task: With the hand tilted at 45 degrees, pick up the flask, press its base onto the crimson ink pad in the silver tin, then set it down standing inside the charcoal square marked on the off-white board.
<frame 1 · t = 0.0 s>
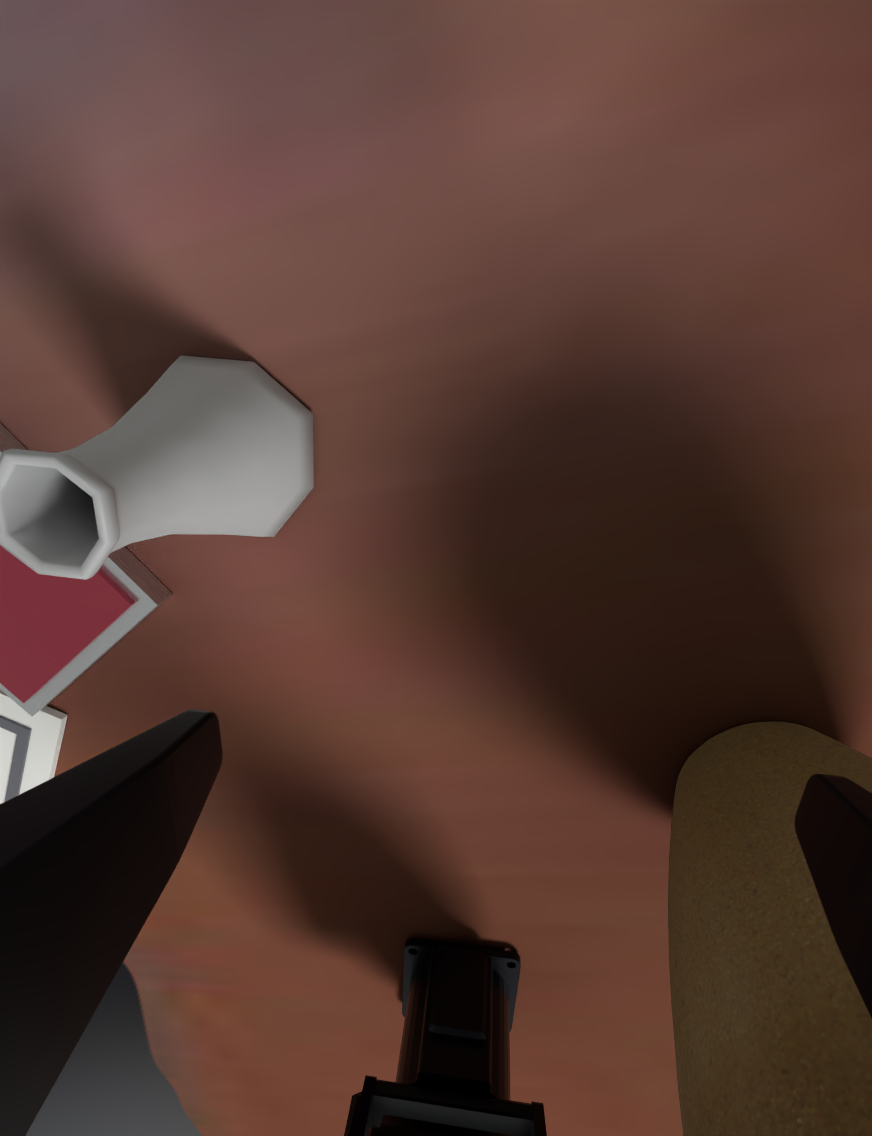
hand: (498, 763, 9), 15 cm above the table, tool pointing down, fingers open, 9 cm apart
flask: (235, 448, 23), on the table
plant pot: (759, 786, 26), on the table
ink pad: (25, 574, 26), on the table
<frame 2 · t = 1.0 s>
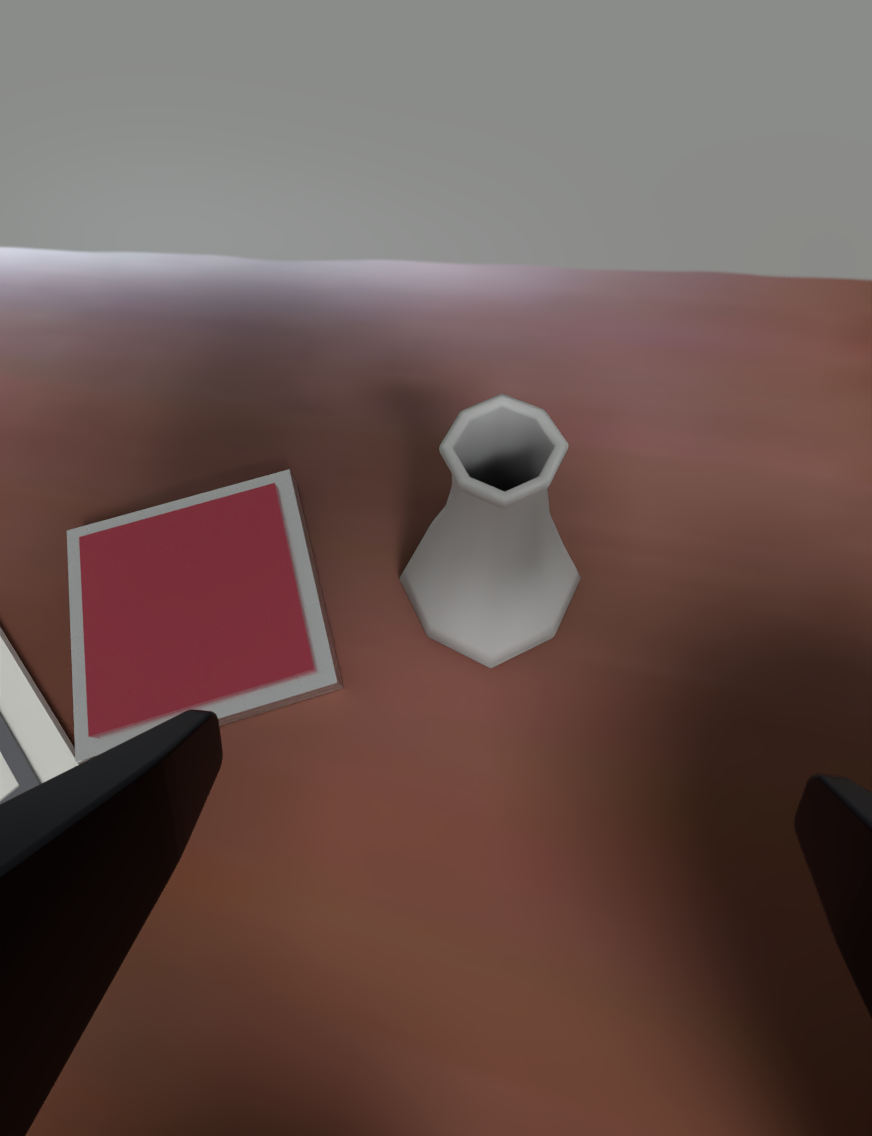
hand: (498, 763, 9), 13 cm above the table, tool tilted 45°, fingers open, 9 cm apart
flask: (488, 582, 24), on the table
ink pad: (205, 610, 24), on the table
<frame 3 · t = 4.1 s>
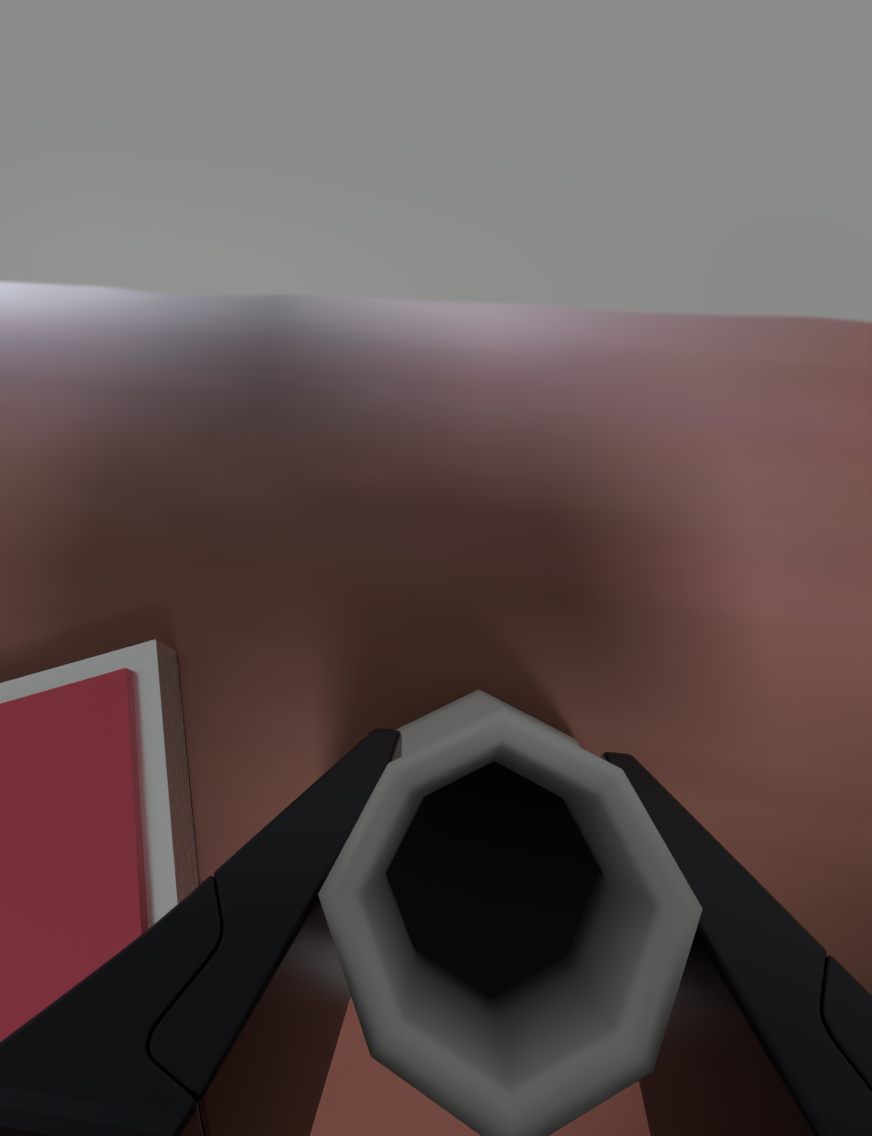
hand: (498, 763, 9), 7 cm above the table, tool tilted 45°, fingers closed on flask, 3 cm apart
flask: (478, 843, 14), on the table, touching gripper
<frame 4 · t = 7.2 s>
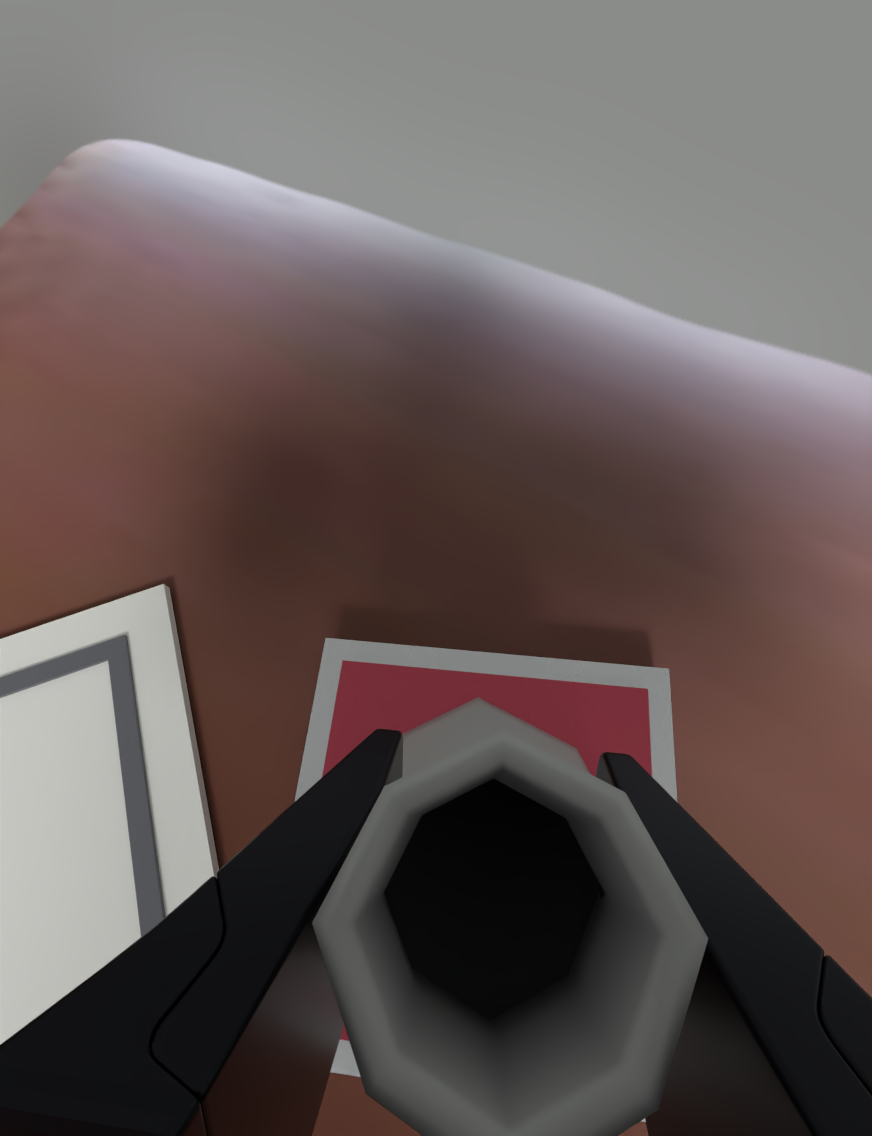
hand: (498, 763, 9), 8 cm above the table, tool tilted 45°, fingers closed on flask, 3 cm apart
flask: (478, 853, 14), point 1 cm above the table, touching gripper, ink pad
ink pad: (479, 840, 15), on the table
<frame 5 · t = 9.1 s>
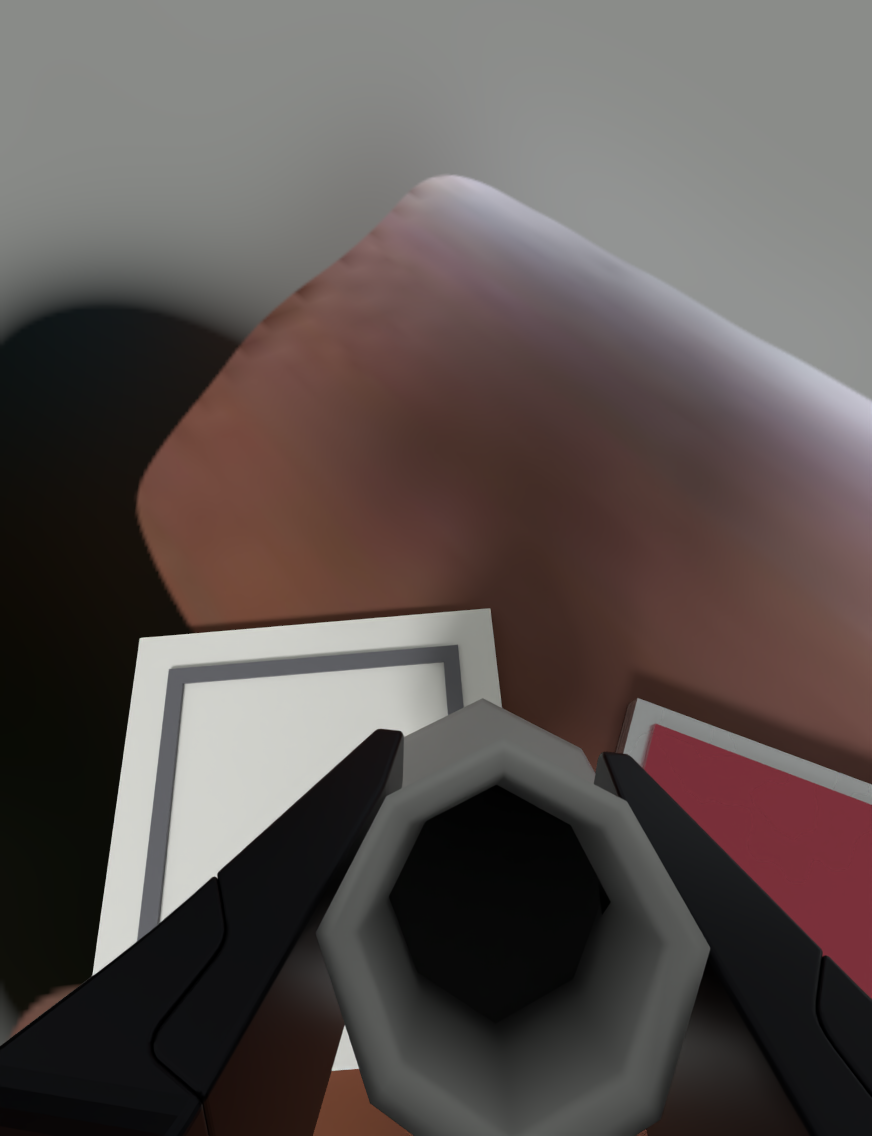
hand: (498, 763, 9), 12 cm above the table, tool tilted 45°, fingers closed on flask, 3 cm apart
marked board: (314, 815, 20), on the table
flask: (484, 854, 14), point 5 cm above the table, touching gripper
ink pad: (742, 906, 18), on the table
when the fingers open (8 cm above the table, at t = 10.7 s): flask drops 1 cm, resting on marked board.
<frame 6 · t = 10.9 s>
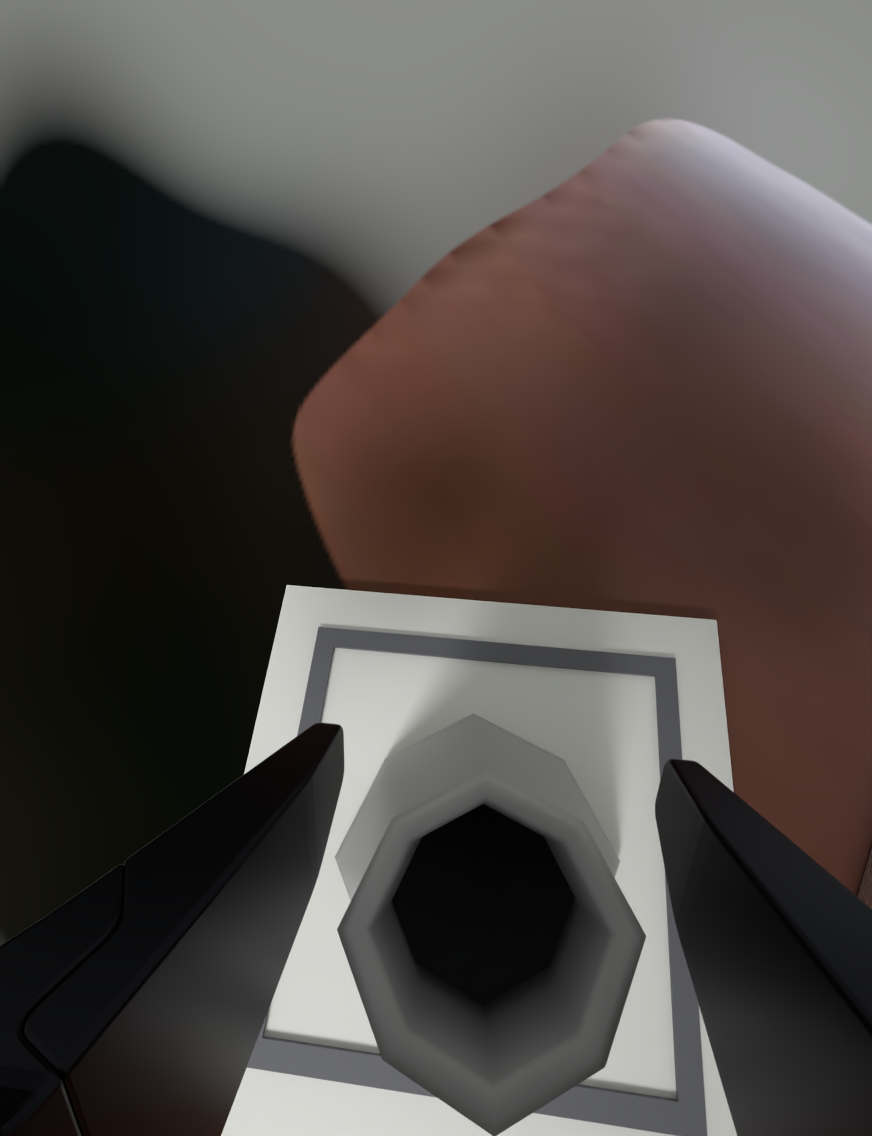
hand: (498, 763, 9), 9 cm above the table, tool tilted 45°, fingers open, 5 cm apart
marked board: (478, 837, 16), on the table
flask: (475, 857, 15), resting on marked board
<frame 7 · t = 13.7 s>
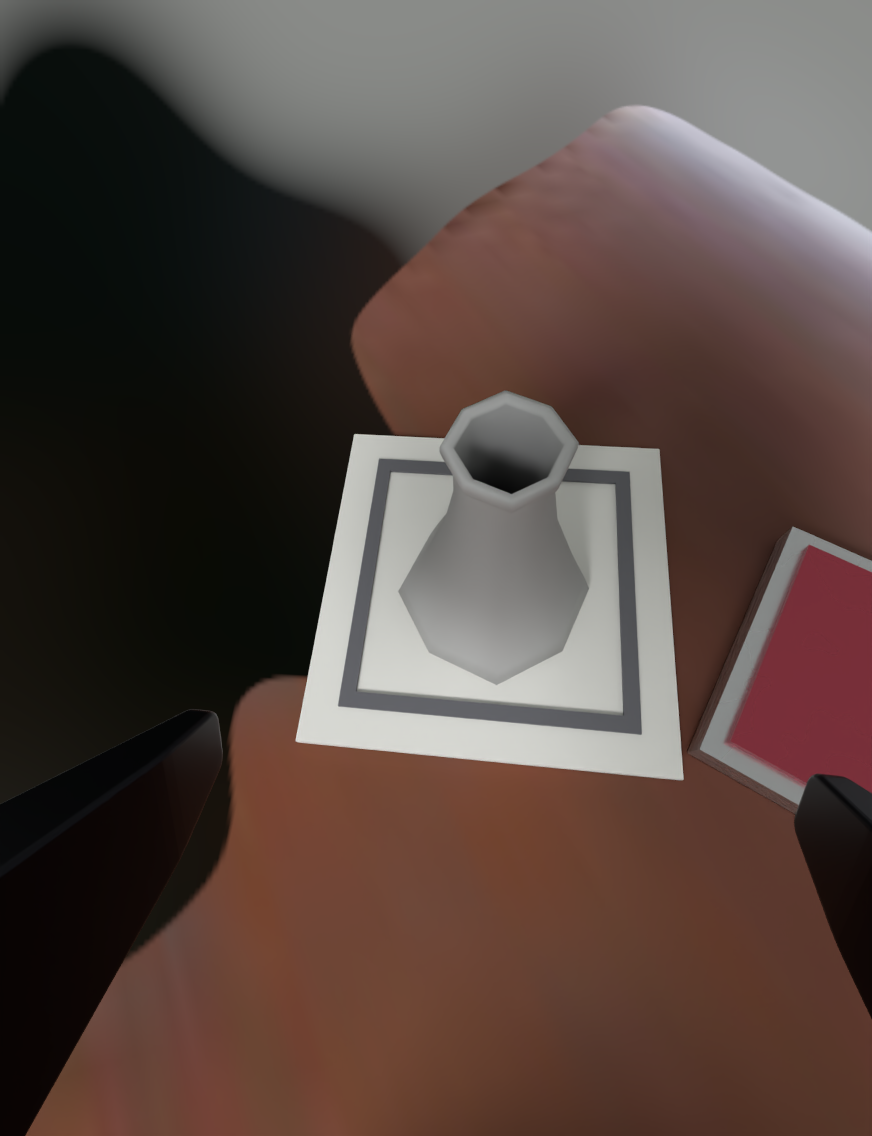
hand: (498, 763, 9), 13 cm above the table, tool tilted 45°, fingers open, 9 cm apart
marked board: (494, 584, 23), on the table
flask: (492, 594, 23), resting on marked board
ink pad: (868, 705, 21), on the table
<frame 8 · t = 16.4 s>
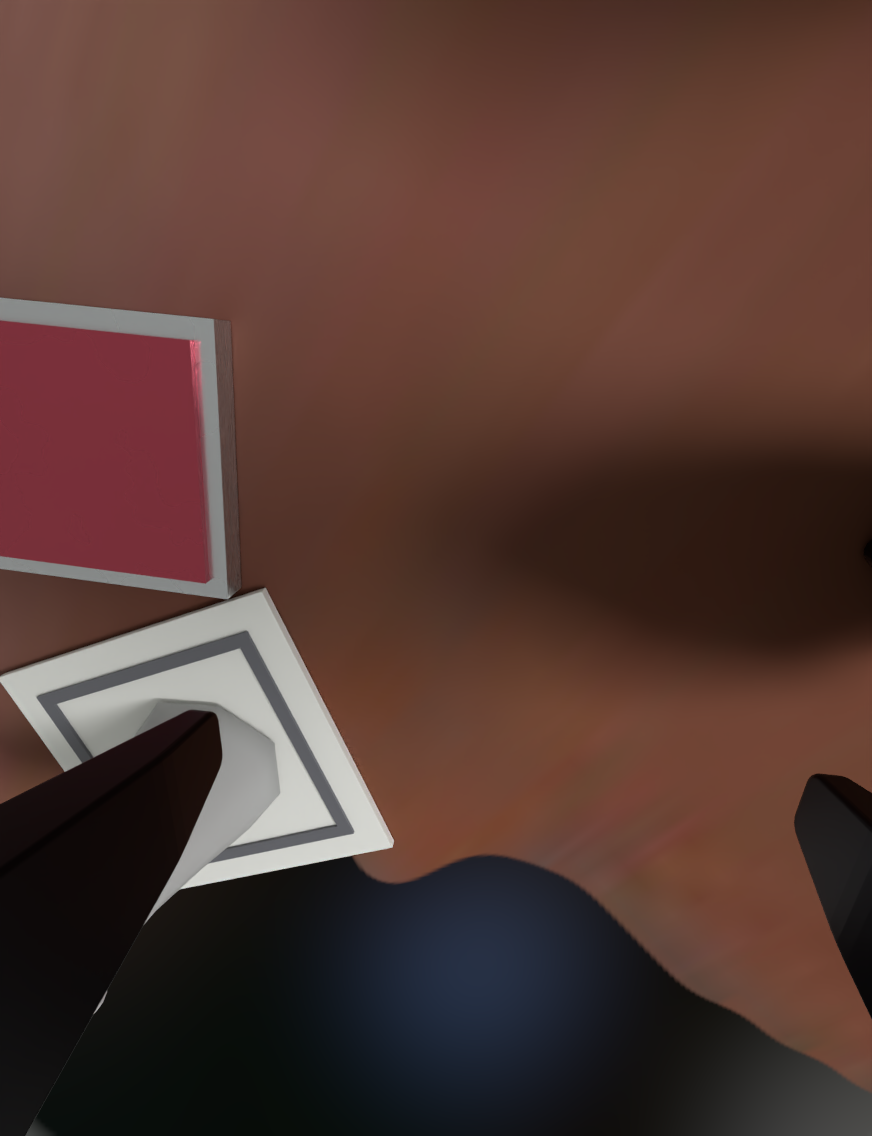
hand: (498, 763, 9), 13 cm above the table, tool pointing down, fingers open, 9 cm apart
marked board: (203, 758, 26), on the table
flask: (211, 760, 26), resting on marked board
ink pad: (109, 450, 21), on the table
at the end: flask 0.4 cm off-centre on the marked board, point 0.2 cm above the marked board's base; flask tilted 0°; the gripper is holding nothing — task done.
